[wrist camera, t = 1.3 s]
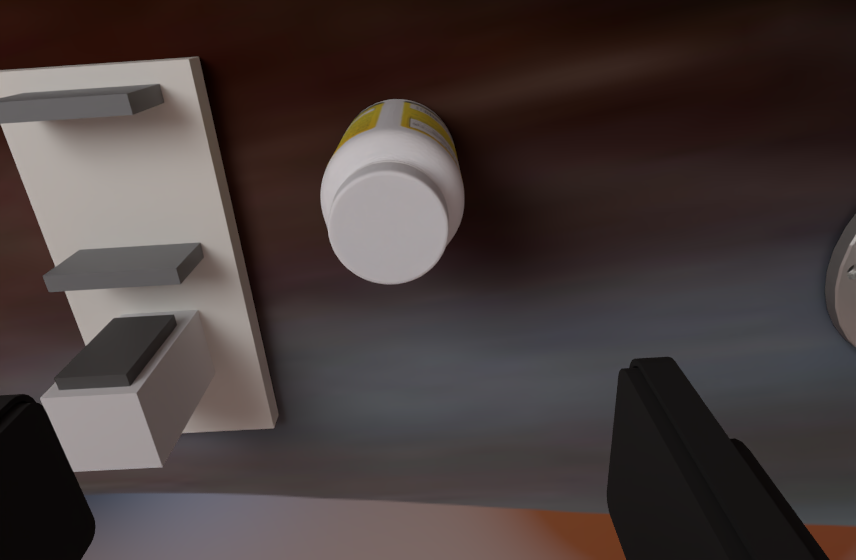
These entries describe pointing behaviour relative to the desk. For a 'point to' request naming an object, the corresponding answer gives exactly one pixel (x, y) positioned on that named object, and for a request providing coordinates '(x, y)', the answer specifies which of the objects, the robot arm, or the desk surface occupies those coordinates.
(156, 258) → the white rack stand
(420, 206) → the supplement bottle
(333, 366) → the desk surface
